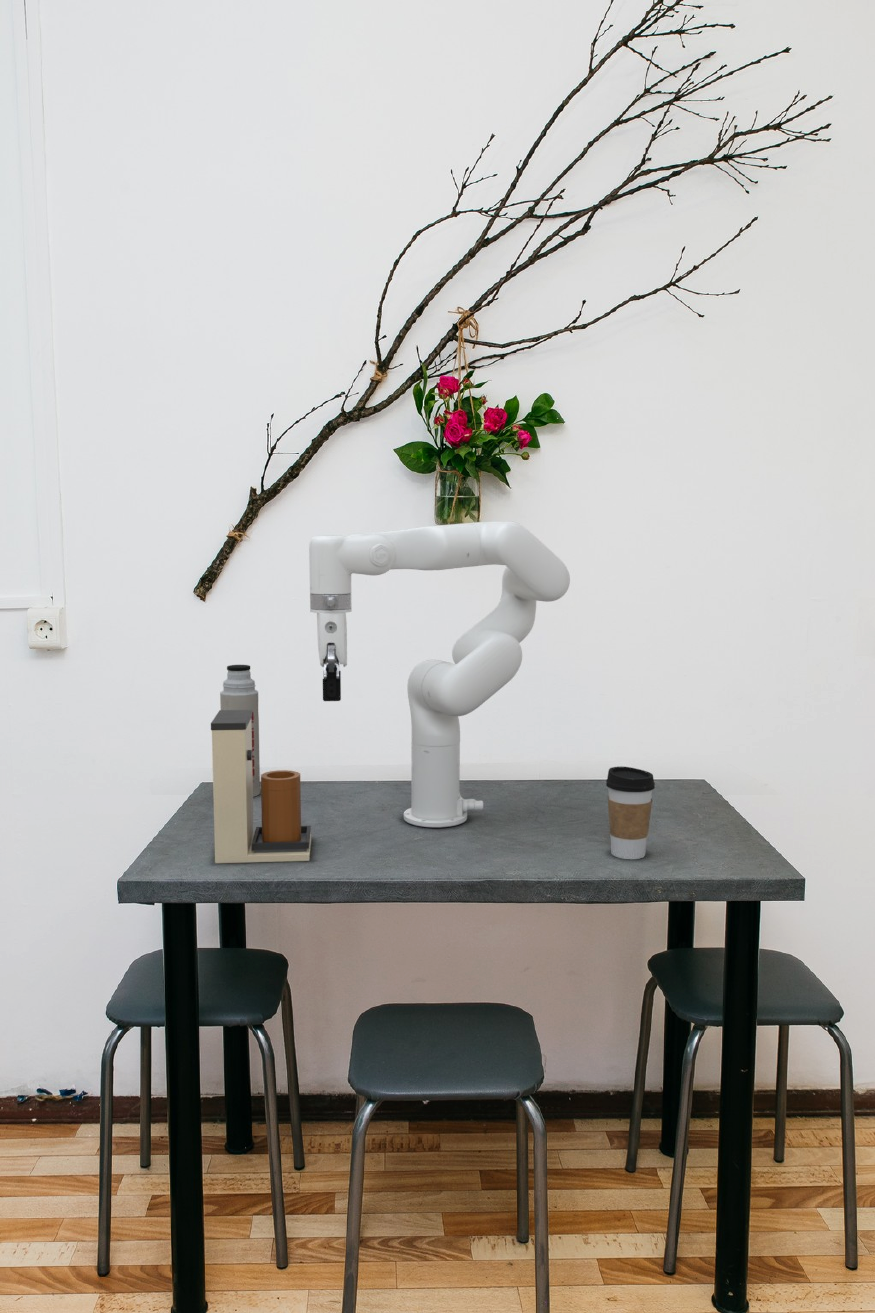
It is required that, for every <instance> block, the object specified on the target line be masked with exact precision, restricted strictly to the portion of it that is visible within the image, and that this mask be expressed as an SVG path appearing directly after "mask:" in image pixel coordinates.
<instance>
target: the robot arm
mask: <svg viewBox="0 0 875 1313" xmlns="http://www.w3.org/2000/svg"><path fill="white" fill-rule="evenodd" d="M308 546H309V547H308V553H309V554H308V555H309V556H308V557H309V558H308V560H309V610H310V612H309V613H314V614H316V628H317V629H316V630H317V631H316V632H317V633H316V634H317V648H318V649H317V650H318V657H319V665H320V667H322V668H323V678H322V701H323V702H340V701H341V700H342V685H341V684H342V682H341V680H342V676H341V674H342V672H341V670H340V665H343V668H345V667H347V665H348V626H347V623H348V622H347V613H350V612H352V611H353V610H352V608H353V607H352V603H353V602H352V574H355V575H366V576H381V575H383V574H386V573H388V572H389V571H390V570H417V571H444V570H452V569H461V568H470V567H471V568H472V567H479V566H480V567H482V566H492V565H495V566H505V568H504V571H503V573H502V577H501V595H500V599H499V602H498V603H497V605H496V606H495V608H494V609H492V610H491V612H489V613H488V614H487V615H486V616H485V617H483V618H482V619H481V620H480V621H478V622H477V623H476V624H474V625H473V626H471V628H469V629H468V630H467V631H466V632H464V633H463V634H462V635H461V636H460V637H459V638H458V639H457V640H456V641H455V642H454V645H453V646H452V651H451V656H452V660H453V663H452V662H448V661H444V660H441V659H427V660H423V661H421V662H419V663H418V664H416V666H414V667H413V669H412V670H411V672H410V674H409V676H408V679H407V685H406V686H407V699H408V705H409V711H410V719H411V722H410V723H411V746H410V747H411V754H410V755H411V765H410V766H411V770H410V771H411V772H410V773H411V775H410V776H411V777H410V778H411V781H410V784H411V786H410V788H411V789H410V790H411V793H410V794H411V796H410V797H411V798H410V800H411V801H410V803H411V807H409V808H407V809H406V810H404V812H403V820H404V821H405V822H406V823H407V824H410V825H413V826H416V827H421V828H422V827H423V828H449V827H454V826H459V825H461V824H463V823H465V822H466V821H467V820H468V811H475V812H476V811H478V812H479V811H484V800H476V799H475V798H467V799H466V798H464V797H462V795H461V792H460V785H461V784H460V783H461V782H460V781H461V780H460V778H461V775H460V773H461V769H460V768H461V766H460V764H461V762H460V761H461V760H460V759H461V724H460V719H459V717H463V716H466V715H469V714H470V713H472V712H474V711H475V710H476V709H478V708H479V707H481V706H482V705H483V704H484V703H485V702H486V701H488V700H489V699H490V698H492V697H493V696H494V695H495V694H496V693H497V692H499V691H500V690H501V689H502V688H504V686H506V685H507V684H508V683H509V682H510V681H512V679H513V678H514V677H515V676H516V675H517V673H518V671H519V670H520V667H521V665H522V661H523V649H522V646H521V644H520V643H521V642H523V641H524V640H525V639H526V638H527V637H528V635H529V634H530V633H531V631H532V630H533V627H534V625H535V620H536V612H537V602H547V603H549V602H556V601H558V600H559V599H561V598H563V597H564V596H565V595H566V593H567V592H568V590H569V587H570V583H571V576H570V573H569V570H568V567H567V565H566V564H565V563H564V562H563V560H562V559H560V557H559V556H557V555H556V553H554V552H553V551H552V550H551V549H550V548H549V547H548V546H547V545H546V544H544V543H543V542H542V540H540V539H539V538H538V537H537V536H536V535H535V534H534V533H532V532H531V531H530V530H529V529H528V528H526V527H525V526H524V525H522V524H520V523H518V522H516V521H512V520H511V521H510V520H489V521H476V522H461V523H452V524H451V523H450V524H439V525H427V526H420V527H415V528H409V529H408V528H407V529H400V530H398V529H397V530H388V531H376V532H374V531H373V532H363V533H353V534H349V535H348V536H344V535H334V534H333V535H325V534H324V535H315V536H313V537H311V539H310V540H309V544H308Z"/></svg>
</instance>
